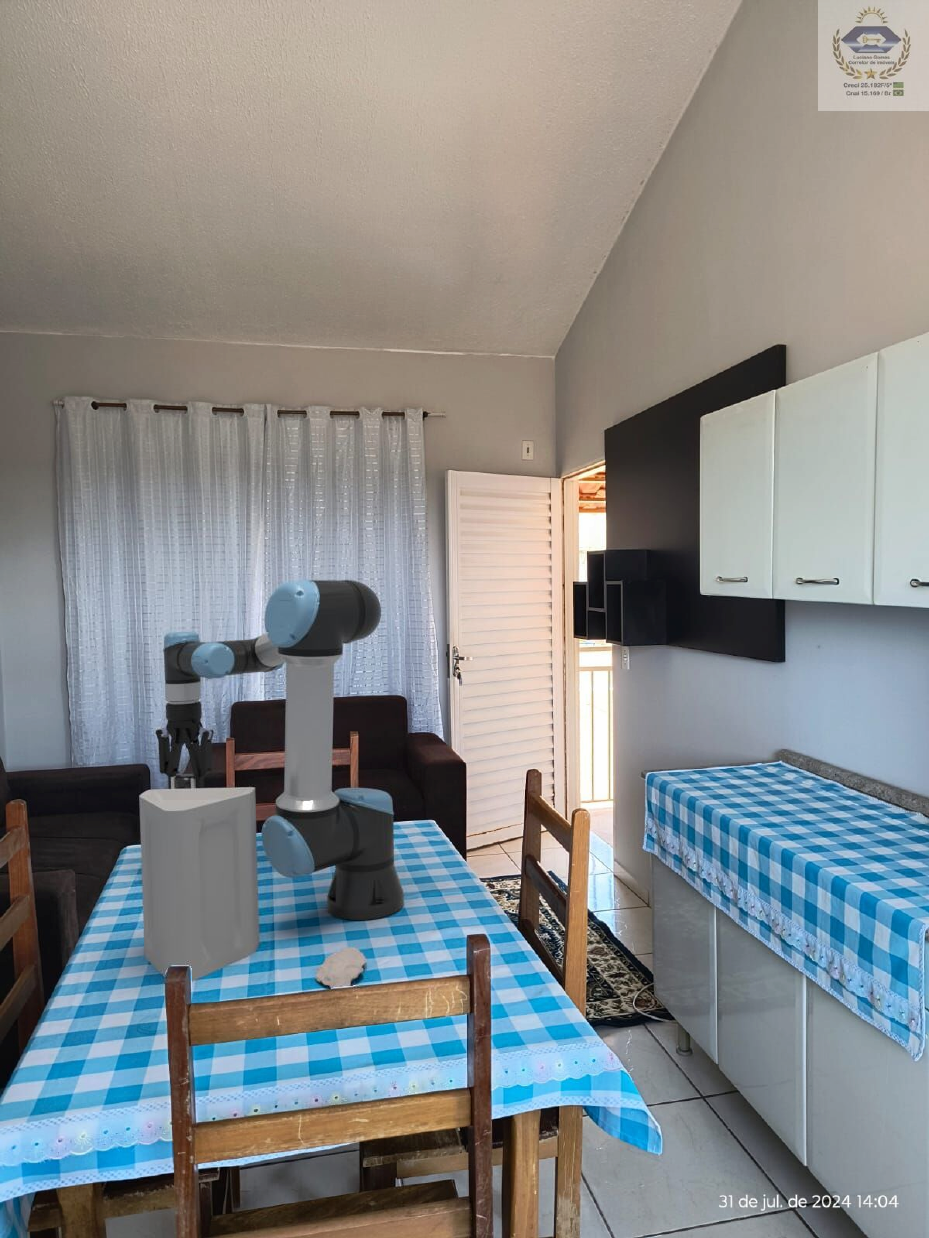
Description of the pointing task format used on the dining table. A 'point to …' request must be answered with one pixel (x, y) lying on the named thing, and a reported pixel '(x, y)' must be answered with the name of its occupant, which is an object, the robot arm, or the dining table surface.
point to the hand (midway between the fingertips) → (186, 805)
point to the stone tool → (341, 967)
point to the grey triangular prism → (199, 877)
